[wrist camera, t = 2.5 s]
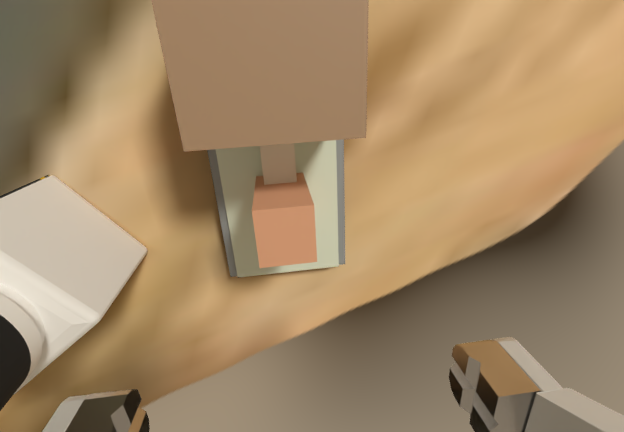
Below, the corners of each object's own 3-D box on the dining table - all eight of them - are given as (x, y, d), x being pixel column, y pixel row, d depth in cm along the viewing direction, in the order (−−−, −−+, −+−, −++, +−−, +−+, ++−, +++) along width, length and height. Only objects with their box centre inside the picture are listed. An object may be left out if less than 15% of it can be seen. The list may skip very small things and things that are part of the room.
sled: (223, -3, 16) (201, -40, 11) (301, -5, 16) (315, -43, 11) (254, 222, 20) (249, 269, 15) (313, 216, 21) (327, 260, 16)
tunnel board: (166, -98, 15) (77, -249, 8) (336, -99, 16) (390, -239, 9) (232, 268, 23) (216, 351, 16) (342, 256, 24) (372, 331, 17)
